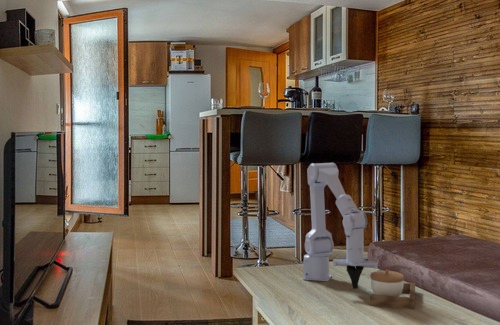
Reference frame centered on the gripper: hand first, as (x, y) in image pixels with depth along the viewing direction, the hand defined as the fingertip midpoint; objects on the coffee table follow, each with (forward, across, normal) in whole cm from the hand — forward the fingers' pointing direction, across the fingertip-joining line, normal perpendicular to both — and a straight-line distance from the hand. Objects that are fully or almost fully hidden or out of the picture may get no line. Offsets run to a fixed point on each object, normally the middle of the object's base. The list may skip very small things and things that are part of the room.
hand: (355, 288), depth 168 cm
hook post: (+2, +8, +10) cm, 13 cm away
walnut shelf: (+2, +12, 0) cm, 12 cm away
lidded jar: (+3, +10, 0) cm, 11 cm away
